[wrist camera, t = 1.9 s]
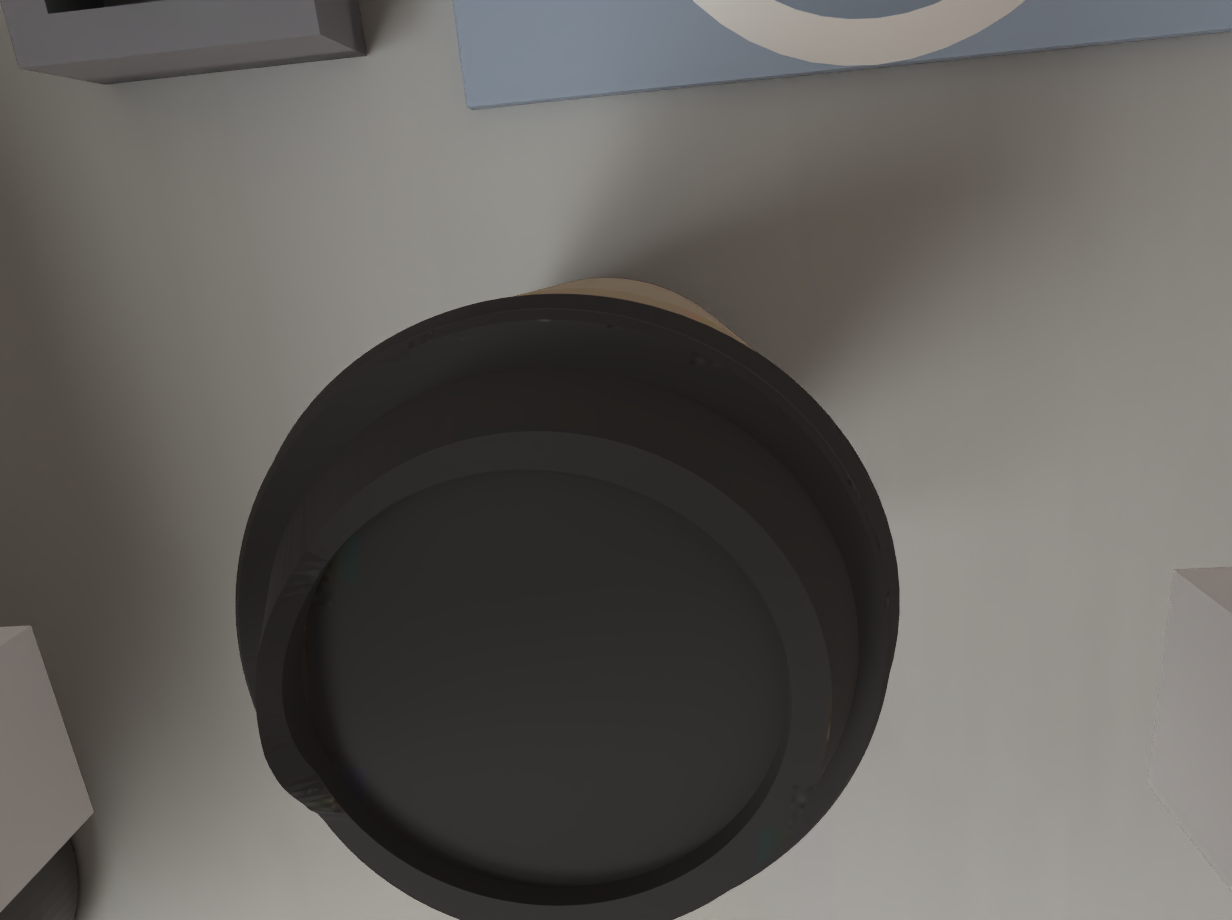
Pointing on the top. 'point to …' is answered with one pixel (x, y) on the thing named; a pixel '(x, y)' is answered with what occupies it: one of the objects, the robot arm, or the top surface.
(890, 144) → the top surface
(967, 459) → the top surface
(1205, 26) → the slate board
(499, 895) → the coffee cup
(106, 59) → the button housing
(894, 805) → the top surface
